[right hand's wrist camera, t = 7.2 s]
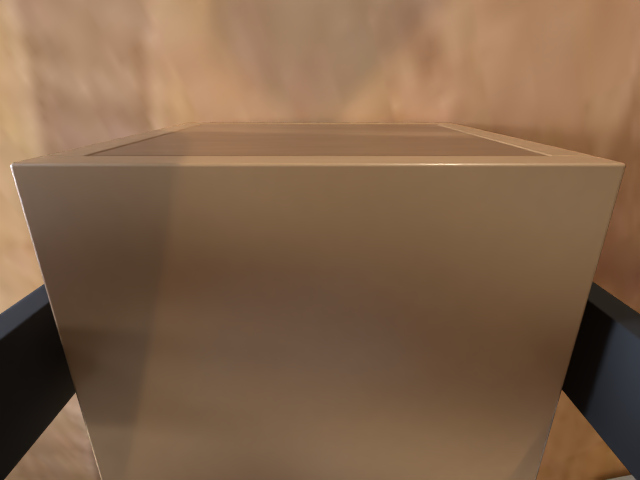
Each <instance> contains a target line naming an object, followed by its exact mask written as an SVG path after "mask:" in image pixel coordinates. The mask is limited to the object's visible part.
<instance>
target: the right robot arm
mask: <svg viewBox="0 0 640 480" xmlns="http://www.w3.org/2000/svg"><path fill="white" fill-rule="evenodd" d="M562 390H563V391H564V392H565V394H566V395H567V396H568V397H569V399H570V400H571V401H572V402H573V403H574V405H575V406H576V407H577V408H578V410H579V411H580V412H581V413H582V414H583V416H584V417H585V418H586V419H587V421H588V422H589V423H590V424H591V425H592V427H593V428H594V429H595V430H596V432H597V433H598V434H599V435H600V436H601V438H602V439H603V440H604V441H605V443H606V444H607V445H608V446H609V447H610V449H611V450H612V451H613V452H614V454H615V455H616V456H617V457H618V458H619V460H620V461H621V462H622V463H623V465H624V466H625V467H626V468H627V469H628V471H629V472H630V473H631V474H632V475H633V477H634V478H635V479H636V480H640V314H639V313H637V312H636V311H634V310H633V309H632V308H630V307H629V306H627V305H626V304H624V303H623V302H621V301H620V300H618V299H617V298H616V297H614V296H613V295H611V294H610V293H608V292H607V291H605V290H604V289H602V288H601V287H600V286H598V285H597V284H595V283H594V282H592V286H591V289H590V292H589V296H588V299H587V303H586V306H585V310H584V313H583V317H582V320H581V324H580V327H579V331H578V334H577V338H576V341H575V345H574V348H573V352H572V355H571V359H570V362H569V366H568V369H567V373H566V376H565V380H564V383H563V387H562ZM75 392H76V391H75V387H74V384H73V381H72V377H71V374H70V370H69V367H68V363H67V360H66V356H65V353H64V350H63V346H62V343H61V339H60V336H59V332H58V329H57V325H56V322H55V319H54V315H53V312H52V308H51V305H50V301H49V298H48V294H47V291H46V288H45V284H43V285H42V286H40V287H39V288H38V289H36V290H35V291H33V292H32V293H30V294H29V295H27V296H26V297H24V298H23V299H22V300H20V301H19V302H17V303H16V304H14V305H13V306H11V307H10V308H8V309H7V310H6V311H4V312H3V313H1V314H0V480H4V479H5V478H6V477H7V476H8V474H9V473H10V472H11V471H12V469H13V468H14V467H15V466H16V465H17V463H18V462H19V461H20V460H21V458H22V457H23V456H24V455H25V454H26V452H27V451H28V450H29V449H30V447H31V446H32V445H33V444H34V443H35V441H36V440H37V439H38V438H39V436H40V435H41V434H42V433H43V432H44V430H45V429H46V428H47V427H48V425H49V424H50V423H51V422H52V421H53V419H54V418H55V417H56V416H57V414H58V413H59V412H60V411H61V410H62V408H63V407H64V406H65V405H66V403H67V402H68V401H69V400H70V399H71V397H72V396H73V395H74V394H75Z"/></svg>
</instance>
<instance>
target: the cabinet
mask: <svg viewBox="0 0 640 480" xmlns="http://www.w3.org/2000/svg"><path fill="white" fill-rule="evenodd" d="M10 167H11V171H12V174H13V177H14V181H15V184H16V188H17V191H18V195H19V198H20V202H21V205H22V208H23V212H24V215H25V219H26V222H27V226H28V229H29V232H30V236H31V239H32V243H33V246H34V250H35V253H36V257H37V260H38V263H39V267H40V270H41V274H42V277H43V281H44V284H45V288H46V291H47V294H48V298H49V301H50V305H51V308H52V312H53V315H54V319H55V322H56V325H57V329H58V332H59V336H60V339H61V343H62V346H63V350H64V353H65V356H66V360H67V363H68V367H69V370H70V374H71V377H72V381H73V384H74V387H75V391H76V394H77V398H78V401H79V405H80V408H81V412H82V415H83V418H84V422H85V425H86V429H87V432H88V436H89V439H90V442H91V446H92V449H93V453H94V456H95V460H96V463H97V467H98V470H99V473H100V477H101V480H536V477H537V474H538V470H539V467H540V463H541V460H542V456H543V453H544V449H545V446H546V443H547V439H548V436H549V432H550V429H551V425H552V422H553V418H554V415H555V411H556V408H557V404H558V401H559V397H560V394H561V390H562V387H563V383H564V380H565V376H566V373H567V369H568V366H569V362H570V359H571V355H572V352H573V348H574V345H575V341H576V338H577V334H578V331H579V327H580V324H581V320H582V317H583V313H584V310H585V306H586V303H587V299H588V296H589V292H590V289H591V286H592V282H593V279H594V275H595V272H596V268H597V265H598V261H599V258H600V254H601V251H602V247H603V244H604V240H605V237H606V233H607V230H608V226H609V223H610V219H611V216H612V212H613V209H614V205H615V202H616V198H617V195H618V191H619V188H620V184H621V181H622V177H623V174H624V170H625V164H624V163H622V162H618V161H613V160H609V159H605V158H600V157H596V156H592V155H588V154H584V153H580V152H575V151H571V150H567V149H562V148H558V147H554V146H550V145H545V144H541V143H537V142H532V141H528V140H524V139H519V138H515V137H511V136H506V135H502V134H498V133H493V132H489V131H485V130H480V129H476V128H472V127H467V126H463V125H459V124H454V123H185V124H180V125H176V126H171V127H167V128H163V129H158V130H154V131H150V132H145V133H141V134H136V135H132V136H128V137H123V138H119V139H115V140H110V141H106V142H102V143H97V144H93V145H89V146H84V147H80V148H76V149H71V150H67V151H62V152H58V153H54V154H49V155H46V156H40V157H36V158H32V159H27V160H23V161H18V162H14V163H12V164H11V166H10Z"/></svg>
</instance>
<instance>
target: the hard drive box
mask: <svg viewBox="0 0 640 480" xmlns="http://www.w3.org/2000/svg"><path fill="white" fill-rule="evenodd" d="M607 480H636V479H635V478H634V477H633V475H628V476H623V477H618V478H612V479H607Z"/></svg>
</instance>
